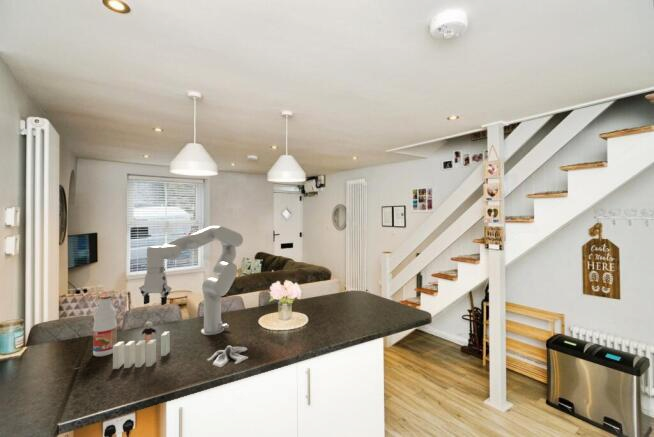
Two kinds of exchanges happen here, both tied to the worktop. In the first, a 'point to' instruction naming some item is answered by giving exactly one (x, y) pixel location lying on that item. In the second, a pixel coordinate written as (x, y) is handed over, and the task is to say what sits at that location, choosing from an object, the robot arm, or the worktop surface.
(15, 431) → the worktop surface
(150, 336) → the grandmother figurine
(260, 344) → the worktop surface
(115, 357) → the domino
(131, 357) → the domino
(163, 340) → the domino
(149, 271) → the robot arm
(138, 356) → the domino
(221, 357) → the cloth
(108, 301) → the fruit juice
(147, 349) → the domino
